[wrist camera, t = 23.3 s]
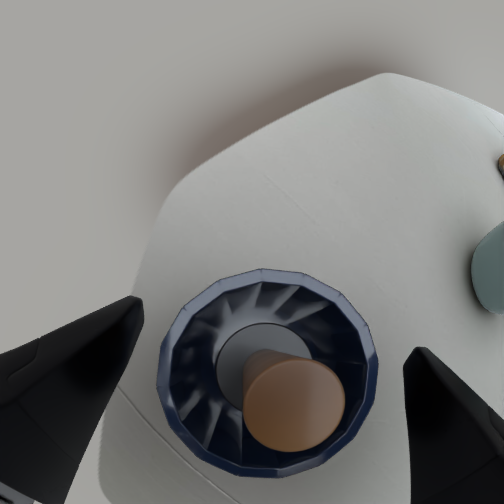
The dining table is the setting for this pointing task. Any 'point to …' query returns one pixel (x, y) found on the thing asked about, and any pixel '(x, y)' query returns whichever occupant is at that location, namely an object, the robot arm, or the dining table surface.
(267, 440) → the grey cylinder with peg
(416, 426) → the robot arm
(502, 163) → the ornament
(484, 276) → the cup
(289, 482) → the dining table surface
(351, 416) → the navy peg holder
